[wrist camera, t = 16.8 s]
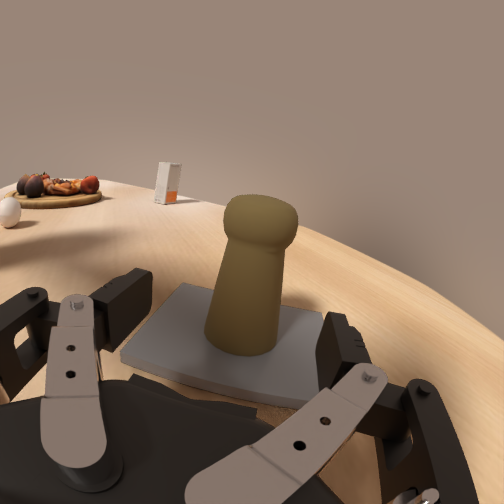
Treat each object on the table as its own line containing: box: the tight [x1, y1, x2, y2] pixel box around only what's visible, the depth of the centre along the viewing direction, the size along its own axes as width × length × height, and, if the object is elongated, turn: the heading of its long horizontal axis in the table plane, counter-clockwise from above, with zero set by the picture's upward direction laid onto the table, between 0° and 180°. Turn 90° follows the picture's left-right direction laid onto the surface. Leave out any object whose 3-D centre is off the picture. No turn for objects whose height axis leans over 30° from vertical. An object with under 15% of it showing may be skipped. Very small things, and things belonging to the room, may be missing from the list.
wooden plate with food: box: [4, 172, 102, 209], centre depth 61 cm, size 32×32×8 cm
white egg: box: [0, 197, 21, 228], centre depth 34 cm, size 8×6×6 cm
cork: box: [204, 195, 298, 356], centre depth 20 cm, size 6×6×11 cm
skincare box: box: [154, 162, 182, 204], centre depth 76 cm, size 6×4×12 cm
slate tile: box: [120, 283, 324, 409], centre depth 22 cm, size 15×13×1 cm
